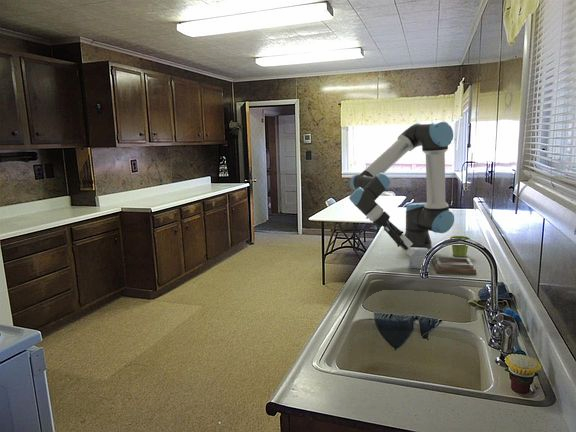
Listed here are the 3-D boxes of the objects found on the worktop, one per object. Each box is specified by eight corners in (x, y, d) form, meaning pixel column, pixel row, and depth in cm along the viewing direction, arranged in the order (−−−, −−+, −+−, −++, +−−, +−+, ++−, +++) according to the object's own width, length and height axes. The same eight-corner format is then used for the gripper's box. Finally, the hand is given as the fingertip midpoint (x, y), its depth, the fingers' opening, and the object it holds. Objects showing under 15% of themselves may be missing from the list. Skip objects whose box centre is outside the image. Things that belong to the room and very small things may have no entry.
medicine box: (427, 266, 192) (427, 247, 191) (427, 269, 188) (428, 250, 187) (409, 265, 195) (409, 247, 193) (409, 268, 190) (409, 249, 189)
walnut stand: (432, 262, 197) (432, 255, 196) (469, 264, 193) (469, 256, 193) (436, 272, 183) (436, 265, 183) (475, 274, 180) (476, 266, 179)
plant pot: (445, 255, 208) (446, 238, 206) (455, 251, 214) (456, 234, 212) (463, 259, 201) (464, 241, 199) (473, 255, 206) (474, 238, 205)
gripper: (372, 216, 203) (404, 247, 203) (371, 228, 179) (406, 263, 179) (384, 205, 201) (415, 237, 201) (384, 216, 177) (420, 252, 177)
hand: (411, 249), depth 190 cm, fingers open, 13 cm apart
